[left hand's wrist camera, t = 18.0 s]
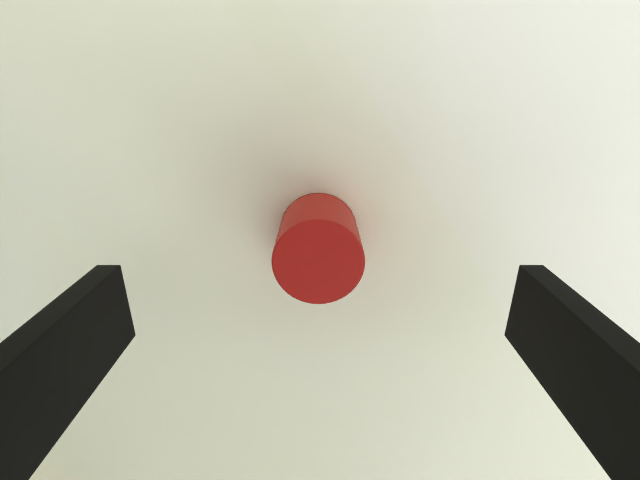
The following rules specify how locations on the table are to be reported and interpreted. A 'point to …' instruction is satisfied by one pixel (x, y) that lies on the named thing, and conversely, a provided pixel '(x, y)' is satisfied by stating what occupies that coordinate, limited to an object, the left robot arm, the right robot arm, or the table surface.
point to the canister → (318, 250)
